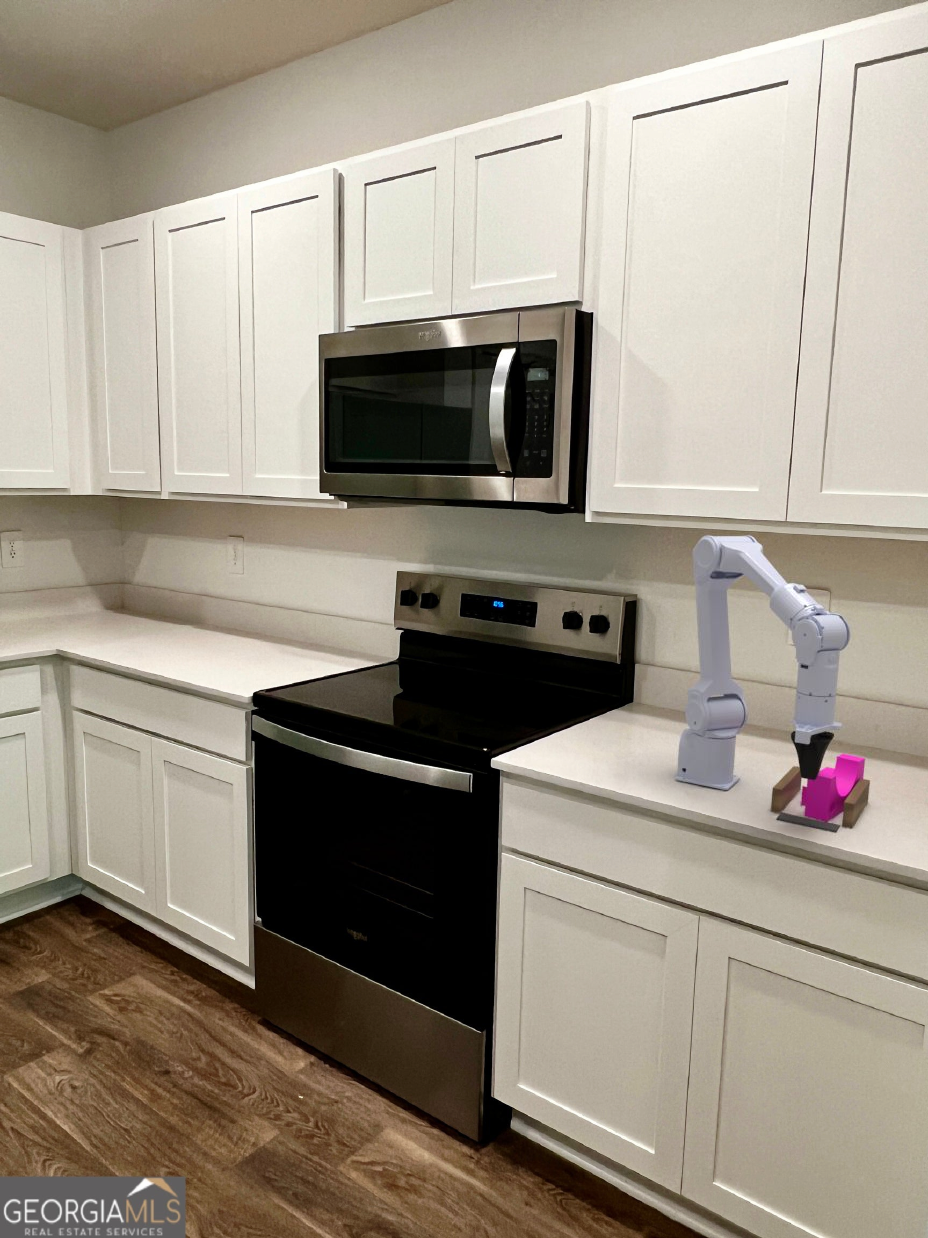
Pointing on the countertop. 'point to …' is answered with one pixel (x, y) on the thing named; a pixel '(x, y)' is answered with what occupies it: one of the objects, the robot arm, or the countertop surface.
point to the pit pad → (808, 822)
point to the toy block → (832, 788)
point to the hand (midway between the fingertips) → (809, 778)
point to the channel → (792, 785)
